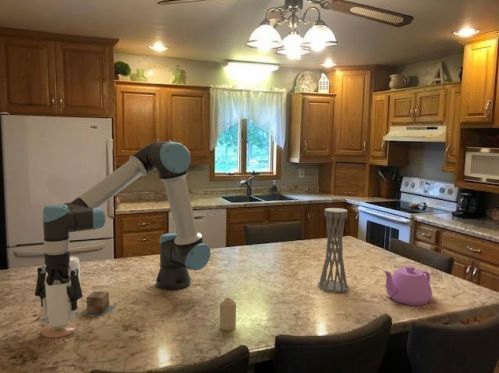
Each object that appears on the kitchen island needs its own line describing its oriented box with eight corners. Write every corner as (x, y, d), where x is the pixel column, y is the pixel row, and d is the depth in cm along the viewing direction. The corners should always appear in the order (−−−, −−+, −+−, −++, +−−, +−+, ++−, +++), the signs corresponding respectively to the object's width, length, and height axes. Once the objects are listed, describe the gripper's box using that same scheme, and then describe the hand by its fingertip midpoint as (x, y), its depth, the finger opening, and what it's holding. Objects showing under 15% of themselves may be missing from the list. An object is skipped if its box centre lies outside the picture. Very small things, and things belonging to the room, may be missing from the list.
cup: (49, 331, 133) (47, 286, 131) (46, 322, 139) (44, 280, 138) (73, 326, 137) (71, 282, 135) (69, 318, 143) (68, 276, 141)
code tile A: (79, 313, 152) (79, 312, 152) (62, 325, 143) (62, 324, 143) (56, 311, 154) (56, 309, 154) (37, 322, 145) (37, 321, 145)
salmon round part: (84, 324, 142) (84, 323, 142) (63, 339, 132) (63, 337, 132) (56, 321, 145) (56, 319, 145) (33, 335, 134) (33, 333, 134)
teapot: (413, 288, 185) (415, 258, 183) (445, 302, 168) (448, 270, 167) (368, 295, 175) (369, 263, 174) (397, 311, 159) (399, 276, 157)
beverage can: (72, 289, 176) (71, 261, 175) (55, 287, 178) (54, 260, 177) (83, 282, 184) (83, 256, 183) (67, 281, 186) (66, 255, 185)
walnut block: (109, 306, 158) (108, 291, 157) (102, 313, 152) (102, 297, 151) (93, 306, 158) (93, 291, 158) (86, 312, 152) (86, 297, 152)
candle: (219, 323, 145) (219, 296, 144) (235, 323, 145) (235, 296, 144) (219, 331, 140) (220, 302, 138) (236, 330, 140) (236, 302, 139)
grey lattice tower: (354, 287, 184) (357, 210, 180) (338, 295, 174) (341, 213, 171) (328, 280, 193) (330, 206, 190) (311, 287, 184) (314, 209, 180)
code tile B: (117, 307, 159) (117, 306, 159) (102, 317, 149) (102, 316, 149) (94, 304, 161) (94, 303, 161) (78, 314, 151) (78, 313, 151)
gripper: (93, 251, 137) (94, 316, 139) (36, 246, 141) (39, 310, 144) (79, 257, 130) (81, 326, 132) (20, 252, 134) (23, 319, 136)
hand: (59, 317), depth 138 cm, fingers closed on cup, 9 cm apart
